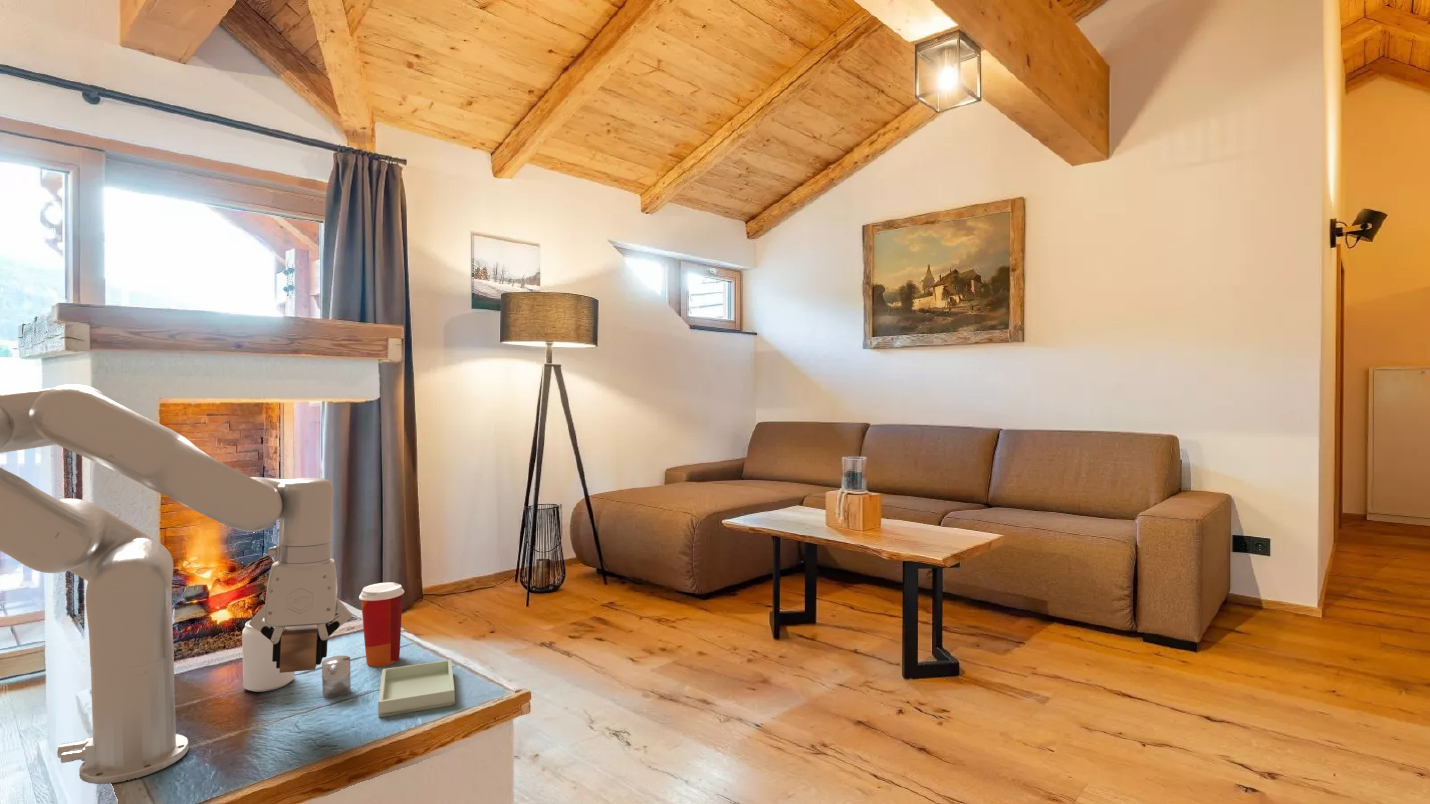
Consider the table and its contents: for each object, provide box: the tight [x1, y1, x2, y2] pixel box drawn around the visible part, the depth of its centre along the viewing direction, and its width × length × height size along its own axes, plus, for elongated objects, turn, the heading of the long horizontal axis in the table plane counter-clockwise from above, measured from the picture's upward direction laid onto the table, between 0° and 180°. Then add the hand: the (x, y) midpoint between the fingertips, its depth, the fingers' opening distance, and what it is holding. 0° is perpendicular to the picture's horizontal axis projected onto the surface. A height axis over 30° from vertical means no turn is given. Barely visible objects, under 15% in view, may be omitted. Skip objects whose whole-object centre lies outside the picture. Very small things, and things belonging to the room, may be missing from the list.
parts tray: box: [377, 658, 456, 718], centre depth 129 cm, size 12×15×3 cm
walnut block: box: [280, 625, 319, 673], centre depth 118 cm, size 5×5×6 cm
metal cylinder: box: [321, 655, 352, 700], centre depth 130 cm, size 4×4×6 cm
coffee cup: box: [358, 581, 405, 668], centre depth 144 cm, size 8×8×15 cm
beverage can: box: [241, 618, 296, 693], centre depth 133 cm, size 8×8×12 cm
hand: (299, 662), depth 118 cm, fingers closed on walnut block, 5 cm apart
